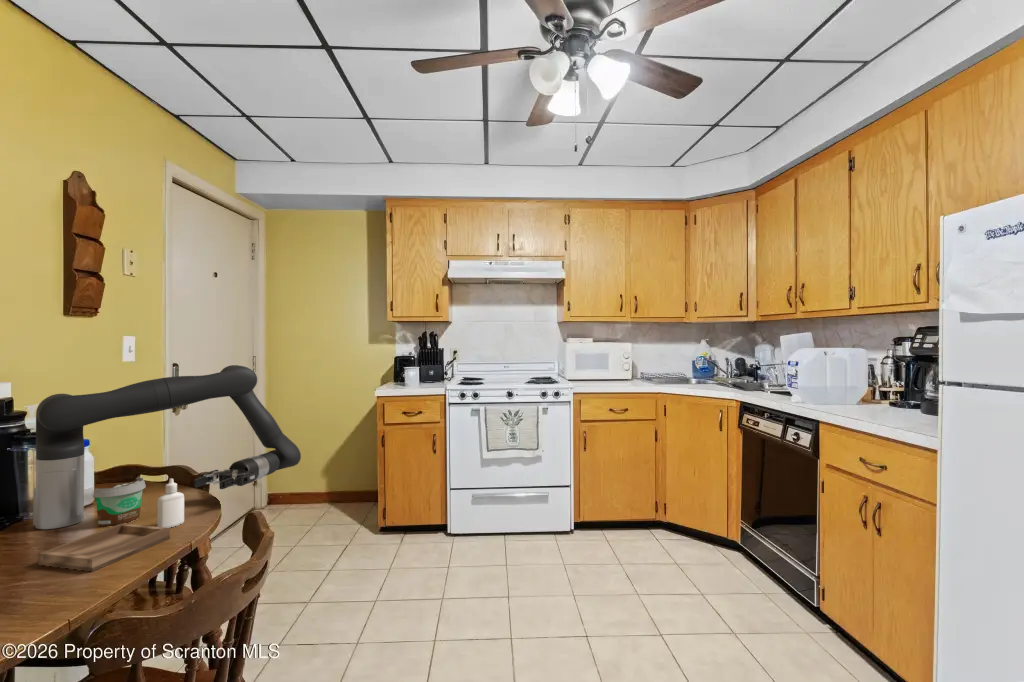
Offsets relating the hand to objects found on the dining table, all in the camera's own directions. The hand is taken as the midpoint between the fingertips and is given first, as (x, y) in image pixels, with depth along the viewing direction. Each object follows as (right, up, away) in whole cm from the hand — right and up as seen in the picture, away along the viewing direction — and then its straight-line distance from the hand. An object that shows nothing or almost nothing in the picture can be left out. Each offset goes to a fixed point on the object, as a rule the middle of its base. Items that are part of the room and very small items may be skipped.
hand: (207, 484), depth 139 cm
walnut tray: (-6, -7, -27) cm, 28 cm away
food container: (-16, -7, -8) cm, 20 cm away
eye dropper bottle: (-3, -7, -11) cm, 14 cm away
